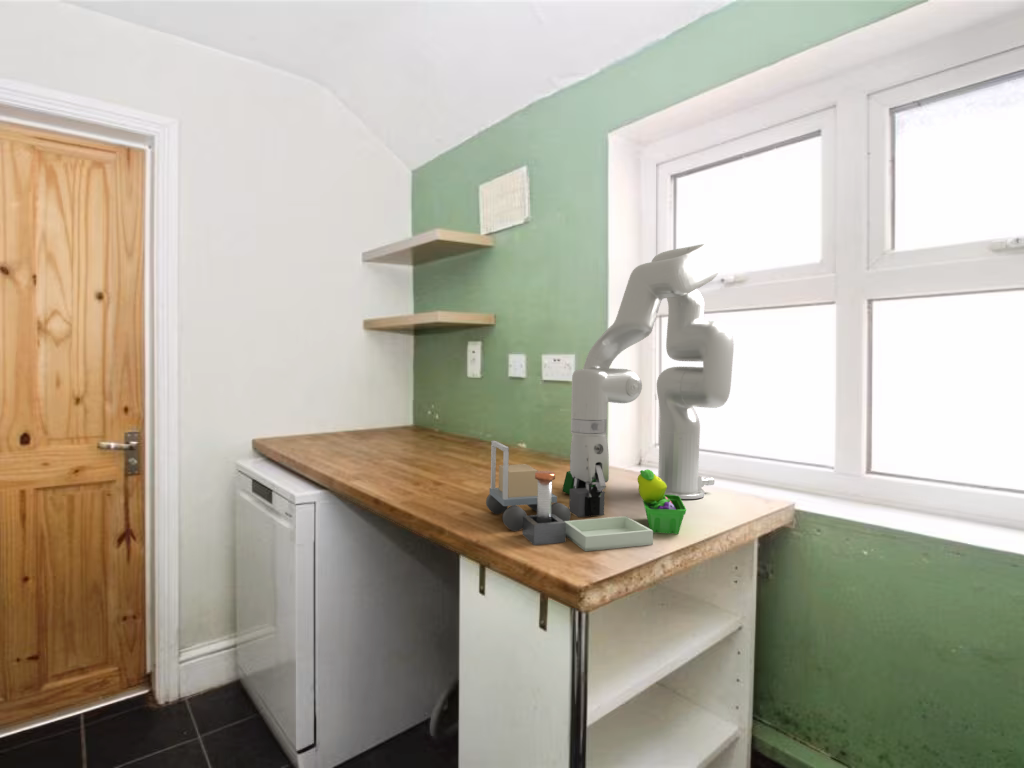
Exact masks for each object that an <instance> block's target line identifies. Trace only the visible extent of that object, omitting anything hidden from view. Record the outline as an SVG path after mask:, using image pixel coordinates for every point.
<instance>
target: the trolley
mask: <svg viewBox="0 0 1024 768" xmlns="http://www.w3.org/2000/svg"><path fill="white" fill-rule="evenodd" d="M490 442H491V443H490V444H491V445H490V446H491V448H490V452H491V453H490V454H491V455H490V462H491V463H490V487H489V494H488V496H487V497H486V500H485V504H486V507H487V509H488V510H490V512H491V513H493V514H495V515H499V514H502V522H503V524H504V525H505V527H507V529H508V530H509V531H510V530H511V531H512V532H519V531H521V530H523V516H528V515H527V512H526V511H525V510H524V509H523V508H522V507H520V506H525V505H527V506H528V507H529V508H530V509H531V510H532V511H535V512H537V490H538V480H537V479H535V472H537V471H539V470H538V469H536V468H535V467H532V466H530V465H529V464H527V463H523V464H519V463H518V464H509V457H510V455H509V454H510V453H509V450H510V448H509V446H507V445H505V444H503V443H502V442H499V441H498V440H491V441H490ZM497 448H498V450H500V451H502V452H503V454H502V455H503V458H502V459H503V461H502V464H499V465H498V487H496V480H497V479H496V477H497V474H496V473H497V470H496V468H497V466H496V465H497ZM551 514H554V515H556V516H557V517H558V518H560V519H561V520H563V521H571V516H572V513H571V512H570V510H569V506H566V505H565V504H564V503H561V502H558V496H557V495H555V494H554V493H552V507H551Z"/></svg>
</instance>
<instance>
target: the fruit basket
mask: <svg viewBox="0 0 1024 768" xmlns="http://www.w3.org/2000/svg"><path fill="white" fill-rule="evenodd" d="M637 482H638V494H639V496H640V497H641V499H642V502H643V505H644V510H645V514H646V519H647V523H648V528H649V529H651V530H653V534H654V533H657V534H667V535H668V534H669V535H670V534H673V535H678V534H679V533H680V530H681V527H682V522H683V519H684V516H685V515H686V512H687V508H686V506H685V505H684V503H683V499H680V497H679V496H676V495H664V494H665V491H666V489H667V485H666V483H665V482H664V481H662V479H661V478H659V477H658V475H656V474H655V473H654V472H653V471H652V470H651V469H644V470H643V469H641V470H640V471H639V474H638V477H637Z"/></svg>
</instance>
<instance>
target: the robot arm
mask: <svg viewBox="0 0 1024 768" xmlns="http://www.w3.org/2000/svg"><path fill="white" fill-rule="evenodd" d="M721 265H722V257H721V254H720V252H719V250H718V249H717V248H716V247H715V246H714V245H712V244H708V243H704V244H697V245H692V246H687V247H680V248H676V249H675V248H674V249H670V250H665V251H662V252H660V253H658V254H657V255H655V256H654V257H653V258H652V260H651V262H647V263H646V262H645V263H643V264H639V265H637V266H636V267H634V268H633V270H632V271H631V273H630V275H629V278H628V281H627V284H626V287H625V290H624V293H623V295H622V300H621V302H620V306H619V309H618V311H617V315H616V317H615V320H614V322H613V323H612V324H611V325H610V326H609V327H608V328H607V329H606V330H605V331H604V332H603V333H602V335H601V336H599V338H598V339H597V340H596V341H595V343H593V346H592V347H590V350H589V351H588V353H587V355H586V358H585V361H584V364H583V367H582V368H580V369H576V370H574V371H573V373H572V377H571V407H570V409H571V410H570V416H571V417H570V435H571V440H570V441H571V442H570V443H571V444H570V453H569V455H570V456H569V458H570V459H569V471H570V472H571V474H572V477H573V481H574V488H586V490H587V497H585V516H587V517H597V516H598V515H599V514H600V497H601V492H602V491H604V490H605V488H606V487H607V484H606V483H608V482H609V480H610V459H609V446H608V445H609V444H608V438H607V426H608V425H607V424H608V420H607V419H608V403H611V404H612V403H613V404H629V403H632V402H634V401H636V399H638V398H639V396H640V394H641V393H642V389H643V383H642V380H641V378H640V375H638V374H637V373H636V372H635V371H633V370H631V369H627V368H611V365H612V363H613V361H614V360H615V359H616V358H617V356H618V355H620V354H621V353H622V352H624V350H627V349H629V348H630V347H631V346H633V345H635V344H637V343H639V342H641V341H643V340H644V339H646V338H648V337H649V336H650V335H651V334H652V332H653V329H654V326H655V322H656V320H657V316H658V313H659V309H660V307H661V303H662V301H663V300H664V299H666V301H667V304H668V307H667V308H668V314H667V325H666V326H667V329H666V342H665V343H666V345H665V346H666V347H665V348H666V349H665V350H666V353H667V356H669V358H670V359H672V360H674V361H679V362H702V365H703V366H702V367H701V366H698V367H697V366H673V367H668V368H666V369H664V370H663V371H662V372H661V373H660V374H659V375H658V377H657V380H656V393H657V394H656V395H657V398H658V405H659V435H658V436H659V441H658V443H659V444H658V447H659V448H658V473H657V474H658V475H657V477H659V478H661V479H662V481H664V482H665V483H666V485H667V489H666V491H665V494H664V495H676V496H679V497H680V499H681V500H697V499H701V498H703V497H705V491H704V489H702V488H703V487H705V486H713V485H715V479H714V478H713V477H705V478H703V476H701V475H699V467H700V466H699V463H700V461H699V460H700V439H701V438H700V435H701V425H700V424H701V423H700V419H699V416H698V413H697V412H696V410H695V409H694V408H696V407H697V408H707V409H708V408H709V409H711V408H712V409H713V408H714V409H716V408H720V407H722V406H723V405H725V403H727V401H728V399H729V396H730V392H731V386H732V374H733V373H732V372H733V359H734V345H735V343H734V337H733V334H732V331H731V329H730V327H729V326H728V325H727V324H726V323H724V322H721V321H717V320H715V321H713V320H712V321H710V320H708V321H705V300H704V297H703V296H702V294H701V292H700V291H699V290H698V289H700V288H702V287H703V286H704V285H706V284H708V283H710V282H712V281H713V280H714V279H715V278H716V277H717V275H718V274H719V273H720V270H721ZM592 479H596V482H592ZM591 485H596V486H594V487H593V488H592V490H591Z"/></svg>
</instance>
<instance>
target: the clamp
mask: <svg viewBox="0 0 1024 768" xmlns="http://www.w3.org/2000/svg"><path fill="white" fill-rule="evenodd" d="M592 482H596V479H592ZM594 486H596V485H591V487H594ZM561 489H562V492H563V493H565V494H567V495H569V496H570V489H574V481H573V477H572V474H571V472H570V470H569V471H566V473H565V477H564V481H563V486H562V488H561Z"/></svg>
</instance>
